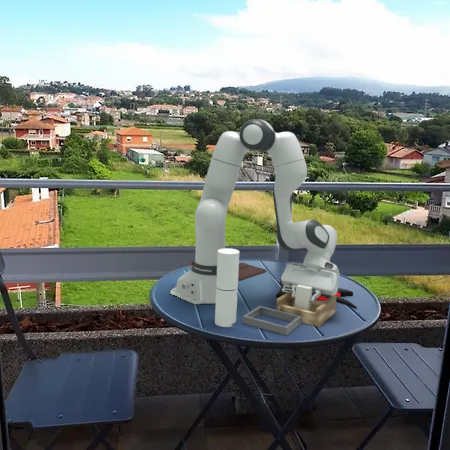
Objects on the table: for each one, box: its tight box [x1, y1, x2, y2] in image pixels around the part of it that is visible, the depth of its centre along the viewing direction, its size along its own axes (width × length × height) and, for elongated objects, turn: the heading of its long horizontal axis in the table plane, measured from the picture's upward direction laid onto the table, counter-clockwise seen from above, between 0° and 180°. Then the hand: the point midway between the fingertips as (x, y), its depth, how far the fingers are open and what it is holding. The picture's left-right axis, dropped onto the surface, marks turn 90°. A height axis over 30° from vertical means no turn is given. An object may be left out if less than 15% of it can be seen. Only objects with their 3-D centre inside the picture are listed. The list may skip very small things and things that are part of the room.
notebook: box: [238, 262, 267, 282], centre depth 220 cm, size 15×20×2 cm
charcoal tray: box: [242, 305, 302, 336], centre depth 161 cm, size 16×12×4 cm
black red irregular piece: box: [275, 277, 358, 310], centre depth 193 cm, size 26×4×30 cm
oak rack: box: [275, 290, 337, 328], centre depth 171 cm, size 16×16×7 cm
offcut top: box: [294, 299, 325, 309], centre depth 172 cm, size 10×4×2 cm, turn 55°
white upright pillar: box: [295, 284, 312, 311], centre depth 167 cm, size 5×2×11 cm, turn 59°
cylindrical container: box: [214, 247, 240, 328], centre depth 160 cm, size 7×7×25 cm
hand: (302, 299), depth 166 cm, fingers closed on white upright pillar, 5 cm apart
